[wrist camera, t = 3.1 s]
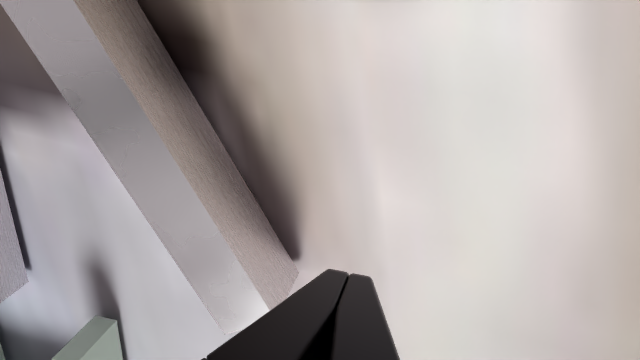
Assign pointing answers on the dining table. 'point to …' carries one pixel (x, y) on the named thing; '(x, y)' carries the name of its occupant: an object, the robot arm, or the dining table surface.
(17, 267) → the tongs fixed arm
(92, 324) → the lock clip
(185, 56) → the dining table surface
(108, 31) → the tong arm
